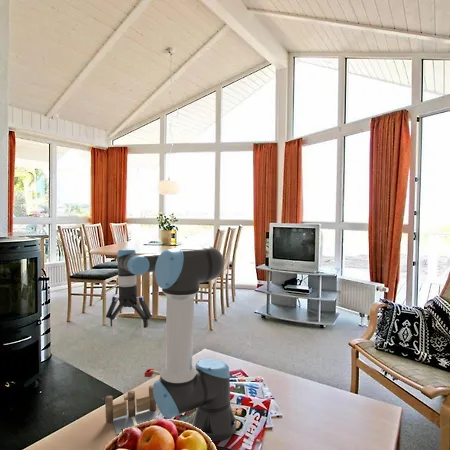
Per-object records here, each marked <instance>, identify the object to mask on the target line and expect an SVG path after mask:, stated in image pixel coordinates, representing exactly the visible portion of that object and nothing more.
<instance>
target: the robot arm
mask: <svg viewBox="0 0 450 450" xmlns="http://www.w3.org/2000/svg"><path fill="white" fill-rule="evenodd" d="M136 252H137V251H136V249H135V248H123V249H118V250H117V255H116V256H117V257H116V259H117V274H118V275H117V277H118V278H117V281H118V295H119V296H118V295H114V296H112V297H111V303H110V305H109V308H108V310H107V313H106V315H105V318H107V319H109V320H110V321H109V322H110V327H112V329H111V330H112V336H115V335H117V334H118V318H117V315H118V314H119V313H120V311H121V310H122V309H123V308H132V309H133V310H135V312H136V313H137V314H138V315H139V317H140V318H141V319H142V320H140V321H141V323H140V324H141V325H140V326H141V337H145V336H146V335H147V328H148V327H149V321H148V320H150V319H152V316H153V315H152V314H151V311H150V309H149V307H148V305H147V303H146V302H145V296H144V295H142V296H138V295H137V294H138V289H137V288H138V285H137V283H138V282H137V281H138V280H137V276H141V275H145V274H147V273H154V278H155V282H156V284H157V286H158V287H159V288H161V291H162V293H163V294H164V295H165V296H166V310H165V311H166V315H165V316H166V317H165V318H166V319H165V323H166V324H165V360H164V361H165V362H164V363H165V364H164V365H165V366H164V367H163V368H162V369H161V370H160V372H161V373H160V375H159V379H160V380H159V379H158V380H156V381H155V382H154V383H153V384H152V385H153V394H154V398H155V402H156V408H157V409H158V411H159V412H160V414H161V416H163V417H164V418H165V419H171V418H174V417H179V416H180V415H183V414H185V413H188V412H189V411H190V412H191V411H192V410H195V409H196V410H195V413H194V416H193V421H192V427H193V426H195V427H197V428H199V429H201V430H202V431H203V432H205V433H206V434H207V435H208V436H209V437H210V438H211V440H212V441H211V442H219V441H224V440H226V439H229V438H230V437H231V436H233V435H234V434H235V432H236V431H237V421H236V420H237V419H236V418H235V417H236V416H235V414H234V411H233V409H232V406H231V381H230V379H231V375H230V367H229V365H228V364H227V363H226V362H225V361H223V360H220V359H215V358H203V359H200V360H198V361H196V364H195V367H194V366H193V346H194V342H193V341H194V314H195V310H194V309H195V296H196V295H198V294H199V292H200V284H201V283H206V282H211V281H213V280H215V279H217V278H218V277H219V276H220V275H221V273H222V272H223V270H224V267H225V259H224V255H223V254H222V253H221V251H220V250H218V249H217V248H216V247H213V246H210V245H209V246H207V245H200V246H189V247H188V246H187V247H174V248H171V249H165V250H163V251H161V252H159V253H147V254H136ZM118 302H119V304H118V305H117V303H118ZM116 305H117V307H116ZM115 308H116V309H115Z"/></svg>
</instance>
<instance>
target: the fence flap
mask: <svg viewBox="0 0 450 450" xmlns="http://www.w3.org/2000/svg"><path fill="white" fill-rule="evenodd" d="M113 397H114V396H113V395H107V396H105V398H104V400H105V401H104V402H105V403H104V404H105V423H109V424H110V423H113V419H115V418H118V417H122V416H126V415H127V409H128V400H133V399H135V400H136V394H135V390H129V391H128V392H127V395H123V399H124V400H122V401H119V402H114V401H113V399H114V398H113Z"/></svg>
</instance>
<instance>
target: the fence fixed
mask: <svg viewBox="0 0 450 450" xmlns="http://www.w3.org/2000/svg"><path fill="white" fill-rule="evenodd" d="M135 407H136V408H137V412H141V411H144V410H148V409H149V410H150V411H155V410H156V411H157V404H156V402H155V398H154V394H153V384H152V385H149V386H148V394H145V395H143V396H138V397H135V399H133V400H127V409H128V416H129V417H134V416H135Z"/></svg>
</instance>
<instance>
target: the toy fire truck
mask: <svg viewBox="0 0 450 450" xmlns="http://www.w3.org/2000/svg"><path fill="white" fill-rule="evenodd" d="M160 373H161V371H157V370H154V368H148V369H146V370H145V371H144V378H151V377H152V376H153V375H157V376H160ZM158 380H160V378H159V379H158Z"/></svg>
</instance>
